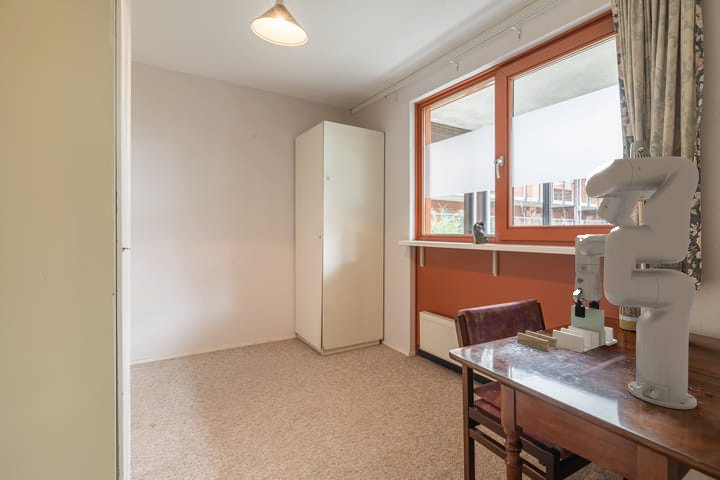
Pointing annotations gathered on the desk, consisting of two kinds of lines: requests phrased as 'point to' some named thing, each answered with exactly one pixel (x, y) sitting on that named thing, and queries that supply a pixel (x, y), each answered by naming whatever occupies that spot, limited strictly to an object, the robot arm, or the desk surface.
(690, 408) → the robot arm
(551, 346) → the plate stand
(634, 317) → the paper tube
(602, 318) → the plate
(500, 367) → the desk surface
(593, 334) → the dish rack
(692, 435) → the desk surface
